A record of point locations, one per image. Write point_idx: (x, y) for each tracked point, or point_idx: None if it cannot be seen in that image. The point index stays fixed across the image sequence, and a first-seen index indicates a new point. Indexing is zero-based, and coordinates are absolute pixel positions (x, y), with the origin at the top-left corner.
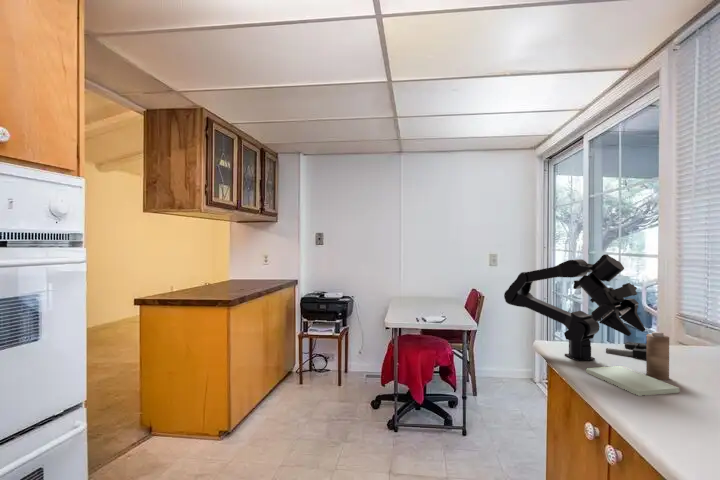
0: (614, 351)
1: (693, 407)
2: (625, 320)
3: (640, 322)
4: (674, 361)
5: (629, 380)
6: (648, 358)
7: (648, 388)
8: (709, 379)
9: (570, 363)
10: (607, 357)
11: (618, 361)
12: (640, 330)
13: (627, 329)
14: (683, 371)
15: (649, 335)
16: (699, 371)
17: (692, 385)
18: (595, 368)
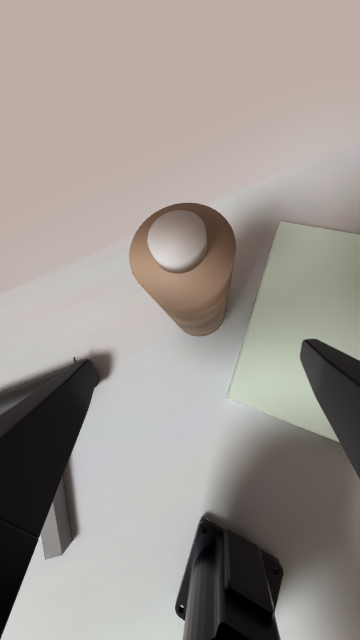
0: (60, 515)
1: (346, 172)
2: (30, 547)
3: (45, 395)
4: (23, 356)
5: (357, 306)
6: (223, 308)
7: None
8: (115, 249)
9: (335, 566)
10: (128, 504)
11: (144, 452)
12: (93, 385)
13: (349, 356)
14: (97, 303)
15: (202, 278)
16: (69, 287)
17: None
18: None
